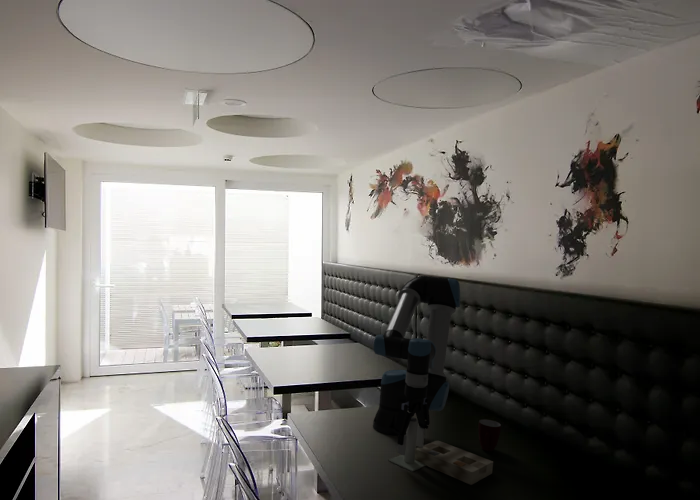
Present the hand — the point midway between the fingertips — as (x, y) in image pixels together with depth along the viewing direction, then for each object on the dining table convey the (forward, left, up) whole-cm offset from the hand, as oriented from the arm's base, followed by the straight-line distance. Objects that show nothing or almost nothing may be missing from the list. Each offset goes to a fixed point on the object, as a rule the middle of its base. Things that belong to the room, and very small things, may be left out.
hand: (410, 450), depth 170 cm
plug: (0, 0, -4) cm, 4 cm away
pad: (0, 0, -4) cm, 4 cm away
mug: (+11, +34, -4) cm, 36 cm away
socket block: (+11, +10, -4) cm, 15 cm away
